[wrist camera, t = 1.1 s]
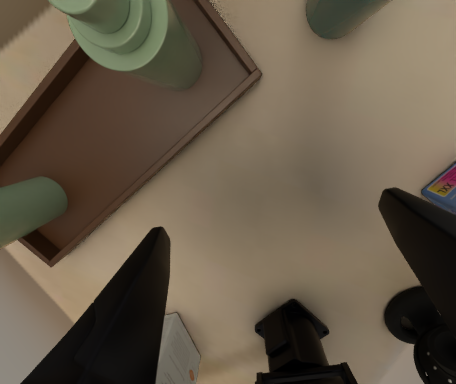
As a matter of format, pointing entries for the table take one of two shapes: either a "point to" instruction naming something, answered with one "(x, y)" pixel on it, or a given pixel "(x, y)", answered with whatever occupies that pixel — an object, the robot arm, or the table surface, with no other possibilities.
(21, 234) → the sage bottle
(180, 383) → the small box
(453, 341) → the webcam
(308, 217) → the table surface
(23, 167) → the tray
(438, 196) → the ink cartridge box
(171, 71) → the sage bottle
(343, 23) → the teal bottle
